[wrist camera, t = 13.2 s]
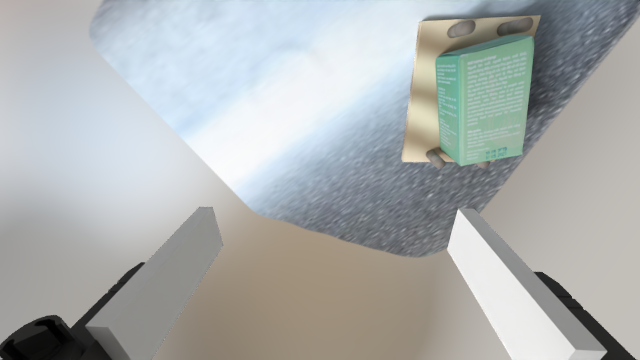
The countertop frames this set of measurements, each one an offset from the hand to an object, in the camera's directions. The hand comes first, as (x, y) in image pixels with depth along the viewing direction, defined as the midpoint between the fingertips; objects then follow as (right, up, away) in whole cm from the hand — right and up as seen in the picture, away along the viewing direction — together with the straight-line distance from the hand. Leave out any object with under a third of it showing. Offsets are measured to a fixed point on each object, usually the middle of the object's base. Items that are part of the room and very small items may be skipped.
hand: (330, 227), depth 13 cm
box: (+20, +14, +20) cm, 32 cm away
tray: (+20, +15, +21) cm, 32 cm away
